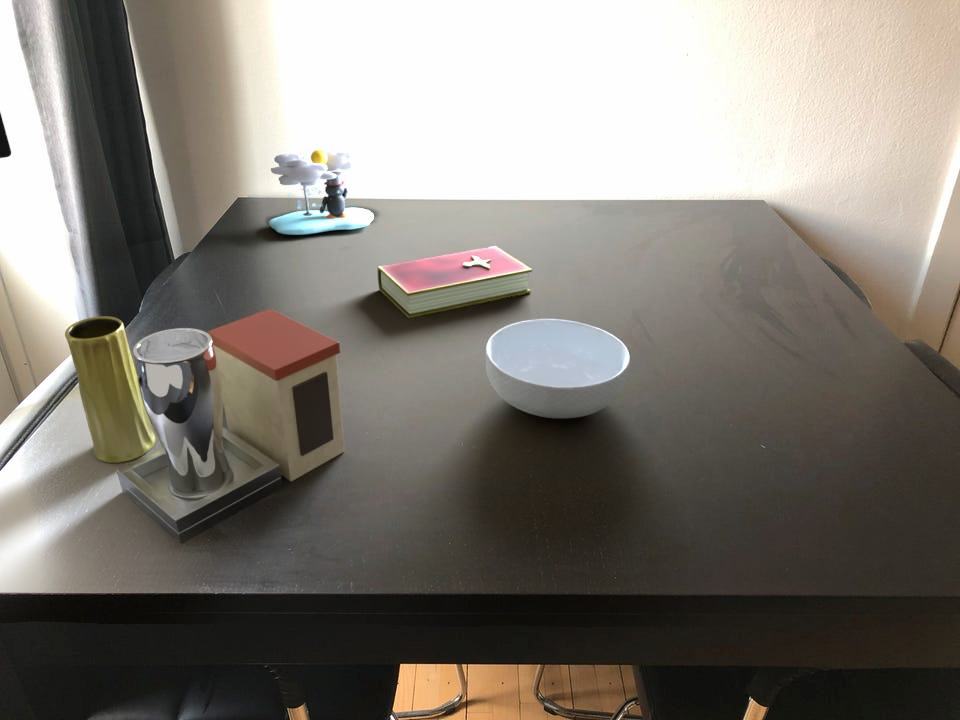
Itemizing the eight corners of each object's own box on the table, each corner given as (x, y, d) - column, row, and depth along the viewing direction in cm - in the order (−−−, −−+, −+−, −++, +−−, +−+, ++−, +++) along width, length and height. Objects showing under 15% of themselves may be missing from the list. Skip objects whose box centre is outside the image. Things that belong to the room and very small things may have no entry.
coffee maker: (182, 545, 66) (153, 422, 60) (120, 490, 73) (88, 374, 67) (348, 451, 79) (339, 342, 73) (283, 411, 86) (269, 308, 79)
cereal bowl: (592, 458, 79) (598, 402, 75) (458, 414, 86) (458, 361, 82) (643, 387, 92) (650, 337, 88) (523, 354, 99) (525, 306, 95)
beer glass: (216, 449, 77) (192, 319, 70) (250, 479, 73) (228, 345, 66) (150, 478, 73) (117, 343, 66) (182, 512, 68) (150, 371, 61)
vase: (131, 424, 83) (101, 309, 76) (168, 441, 80) (141, 323, 73) (81, 452, 78) (45, 332, 71) (119, 470, 76) (85, 347, 69)
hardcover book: (378, 288, 117) (376, 264, 115) (493, 267, 126) (494, 243, 124) (408, 318, 108) (407, 291, 106) (530, 292, 117) (532, 267, 115)
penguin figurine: (370, 215, 150) (365, 138, 143) (380, 232, 141) (375, 151, 134) (268, 223, 144) (258, 144, 137) (271, 241, 135) (261, 158, 128)
